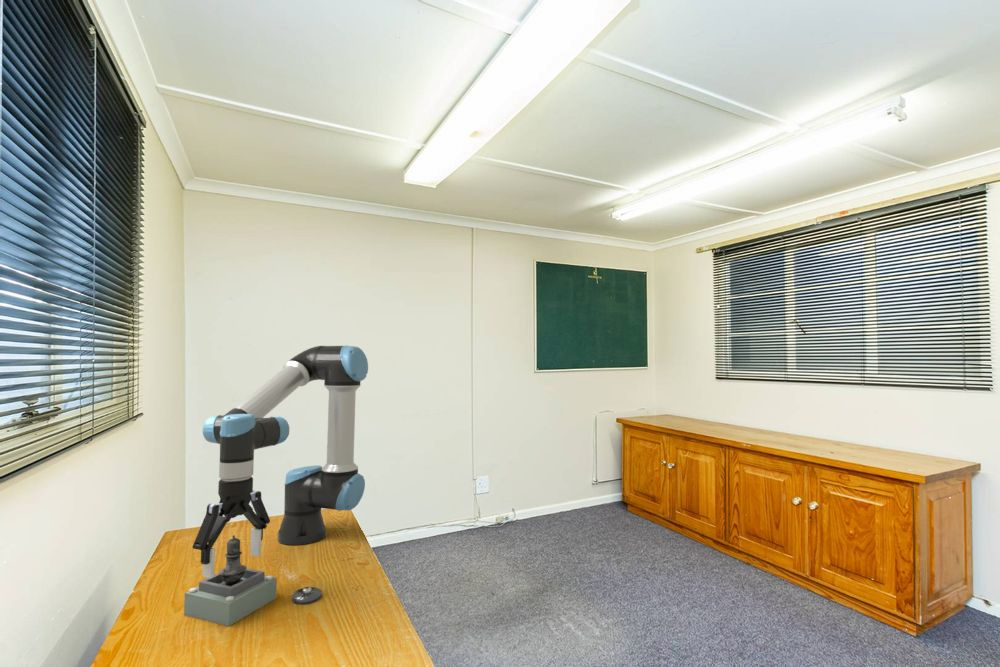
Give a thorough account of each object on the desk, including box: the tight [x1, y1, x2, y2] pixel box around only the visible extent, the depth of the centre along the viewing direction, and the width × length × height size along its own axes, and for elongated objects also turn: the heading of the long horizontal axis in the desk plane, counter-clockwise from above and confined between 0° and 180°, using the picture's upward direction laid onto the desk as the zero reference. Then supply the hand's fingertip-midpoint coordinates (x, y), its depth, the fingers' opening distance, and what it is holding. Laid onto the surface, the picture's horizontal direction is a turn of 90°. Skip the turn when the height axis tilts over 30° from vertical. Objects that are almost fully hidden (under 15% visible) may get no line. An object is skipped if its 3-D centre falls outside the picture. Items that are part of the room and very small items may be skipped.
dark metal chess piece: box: [218, 534, 247, 587], centre depth 121 cm, size 6×6×12 cm
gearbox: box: [183, 567, 278, 627], centre depth 121 cm, size 14×16×7 cm
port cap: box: [291, 586, 323, 605], centre depth 125 cm, size 7×7×2 cm
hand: (233, 565), depth 120 cm, fingers open, 13 cm apart
